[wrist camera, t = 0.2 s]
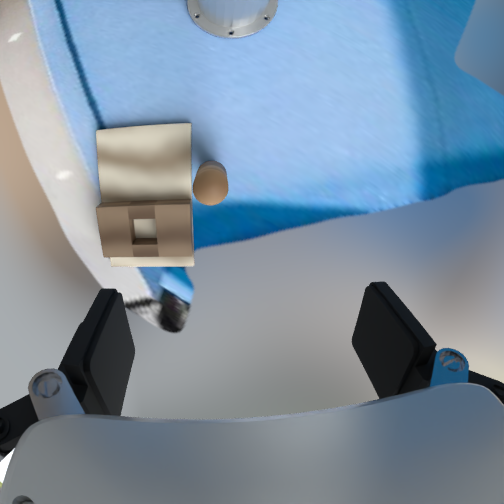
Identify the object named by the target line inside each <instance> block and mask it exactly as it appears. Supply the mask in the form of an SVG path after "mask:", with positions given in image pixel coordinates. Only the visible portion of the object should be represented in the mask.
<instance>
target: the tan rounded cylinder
mask: <svg viewBox="0 0 504 504" xmlns="http://www.w3.org/2000/svg"><path fill="white" fill-rule="evenodd" d="M193 193H194V196H195V197H196V199H197V200H198V201H199V202H201V203H203V204H205V205H215V204H218V203H220V202H221V201H223V200H224V199H225V197H226V195H227V193H228V181H227V173H226V169H225V168H224V166H223V165H222V164H221V163H219V162H217V161H207V162H205V163H203V164H202V165H201V166H200V167H199V169H198V171H197V174H196V177H195V180H194V183H193Z"/></svg>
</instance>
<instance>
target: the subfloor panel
mask: <svg viewBox="0 0 504 504" xmlns="http://www.w3.org/2000/svg"><path fill="white" fill-rule="evenodd" d="M191 127H192V123H177V124H158V125H143V126H131V127H120V128H111V129H102V130H97V131H96V140H97V158H98V171H99V183H100V192H101V201H102V203H101V204H100V205H98V206H97V207H96V212H97V219H98V226H99V233H100V239H101V245H102V250H103V256H104V257H110V261H111V267H159V266H194V263H195V262H194V242H193V215H192V168H191Z"/></svg>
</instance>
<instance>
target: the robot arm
mask: <svg viewBox="0 0 504 504" xmlns="http://www.w3.org/2000/svg"><path fill="white" fill-rule="evenodd" d="M187 5H188V11H189V14H190V16H191V18H192V20H193V21H194V23H195V24H196V25H197V26H198V27H199V28H200V29H202V30H203V31H205V32H207V33H208V34H211V35H214V36H216V37H221V38H230V39H235V38H243V37H247V36H250V35H253V34H255V33H257V32H259V31H261V30H262V29H264V28H265V27H266V26H267V25H268V24H269V23H270V22H271V20H272V19H273V17H274V15H275V13H276V11H277V7H278V0H187ZM196 16H199V18H196ZM264 18H267V20H265V19H264ZM230 32H232V33H233V34H232V35H230V34H229V33H230ZM352 345H353V347H354V349H355V351H356V353H357V355H358V357H359V359H360V361H361V363H362V365H363V367H364V369H365V371H366V373H367V374H368V377H369V378H370V380H371V382H372V384H373V386H374V388H375V390H376V392H377V395H378V396H379V399H378V400H373V401H368V402H363V403H359V404H354V405H348V406H342V407H336V408H330V409H324V410H317V411H311V412H303V413H295V414H286V415H276V416H264V417H251V418H232V419H162V418H139V417H125V416H120V415H121V410H122V406H123V401H124V397H125V392H126V388H127V384H128V380H129V375H130V372H131V367H132V363H133V360H134V355H135V347H134V343H133V339H132V335H131V332H130V327H129V323H128V320H127V315H126V311H125V306H124V302H123V297H122V294H121V293H118V292H117V290H116V289H101V290H100V291H99V293H98V295H97V297H96V299H95V300H94V302H93V304H92V306H91V308H90V310H89V312H88V314H87V316H86V318H85V319H84V321H83V322H82V323H81V324H80V325H79V327H78V329H77V331H76V333H75V334H74V336H73V338H72V341H71V343H70V345H69V347H68V349H67V351H66V353H65V355H64V357H63V359H62V361H61V364H60V366H59V368H58V370H57V369H45V370H42V371H40V372H38V373H36V374H35V375H34V376H33V377H32V379H31V381H30V382H29V386H28V390H29V394H28V395H26V396H25V397H23V398H21V399H19V400H17V401H15V402H13V403H11V404H9V405H7V406H5V407H3V408H1V409H0V504H504V384H503V383H502V382H500V381H497V380H494V379H491V378H489V377H486V376H484V375H480V374H478V373H475V372H473V371H470V370H469V364H468V361H467V359H466V357H465V356H464V355H463V354H462V353H460V352H459V351H457V350H455V349H451V348H443V349H441V350H439V351H438V352H437V351H436V350H435V347H436V343H435V342H434V341H433V339H432V338H431V337H430V335H429V334H428V333H427V332H426V330H425V329H424V328H423V326H422V325H421V324H420V323H419V321H418V320H417V319H416V318H415V317H414V316H413V314H412V313H411V312H410V310H409V309H408V308H407V307H406V306H405V304H404V303H403V302H402V301H401V300H400V299H399V297H398V296H397V295H396V294H395V293H394V291H393V290H392V289H391V288H390V287H389V286H388V284H387V283H386V282H372V283H370V285H369V286H367V287H366V289H365V292H364V296H363V300H362V304H361V308H360V312H359V316H358V319H357V323H356V326H355V330H354V333H353V337H352Z"/></svg>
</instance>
